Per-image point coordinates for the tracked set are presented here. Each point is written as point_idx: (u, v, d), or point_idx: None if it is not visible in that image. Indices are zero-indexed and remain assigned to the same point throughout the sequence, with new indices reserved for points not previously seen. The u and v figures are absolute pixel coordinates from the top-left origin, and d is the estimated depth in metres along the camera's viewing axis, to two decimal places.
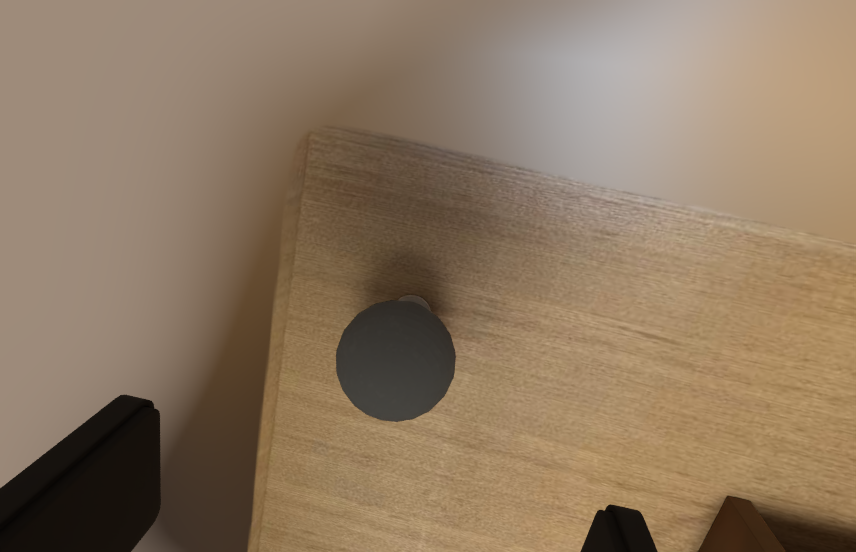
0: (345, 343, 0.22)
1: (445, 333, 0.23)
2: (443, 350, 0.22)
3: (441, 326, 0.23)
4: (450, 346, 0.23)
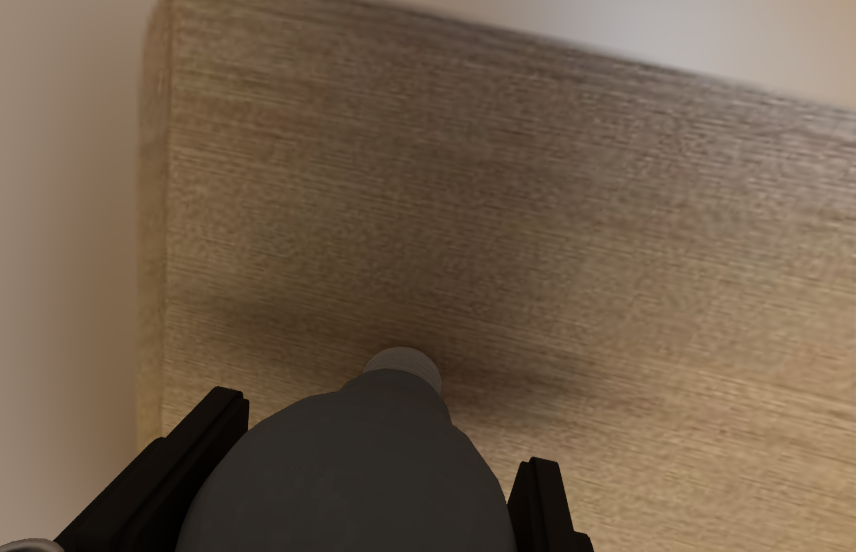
0: (181, 551, 0.07)
1: (493, 503, 0.08)
2: None
3: (481, 481, 0.08)
4: (509, 544, 0.08)
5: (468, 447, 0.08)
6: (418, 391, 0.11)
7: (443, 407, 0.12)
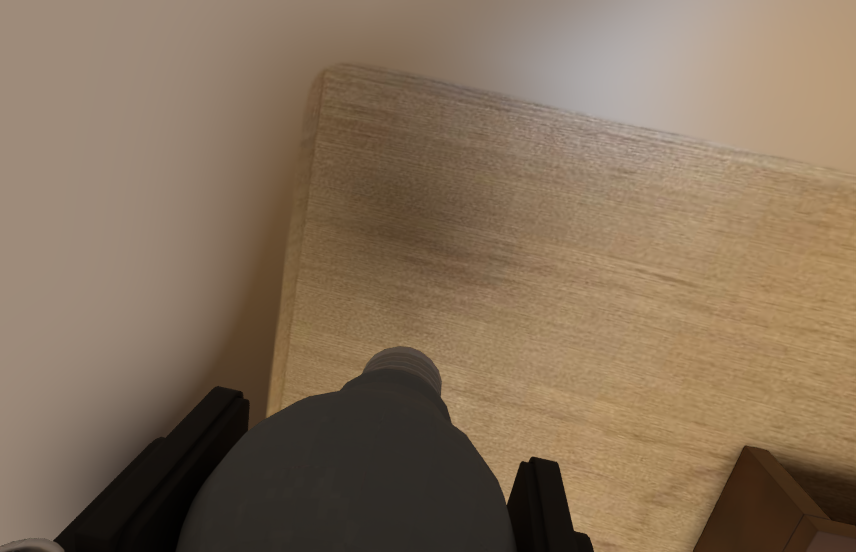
0: (182, 550, 0.07)
1: (492, 502, 0.08)
2: None
3: (481, 481, 0.08)
4: (508, 543, 0.08)
5: (468, 447, 0.08)
6: (418, 391, 0.11)
7: (443, 407, 0.12)
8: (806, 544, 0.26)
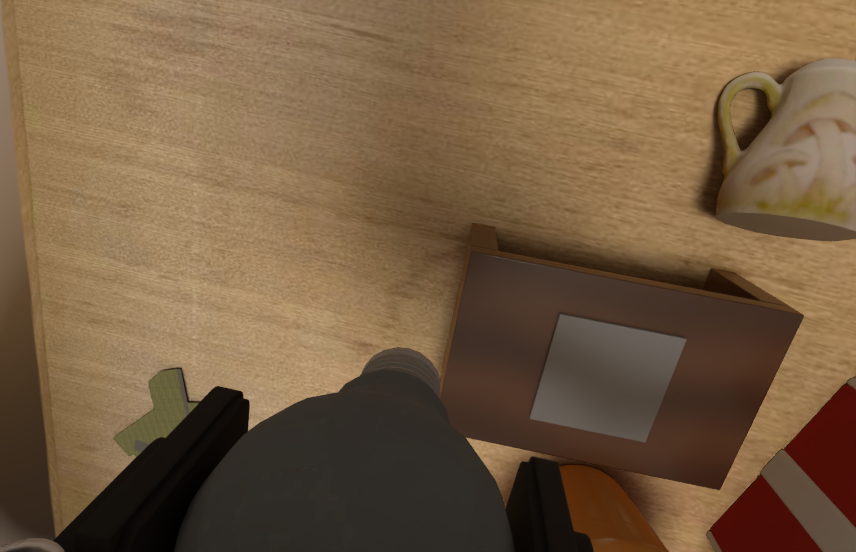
0: None
1: (491, 504, 0.08)
2: None
3: (479, 483, 0.08)
4: (506, 546, 0.08)
5: (466, 449, 0.08)
6: (417, 392, 0.11)
7: (442, 409, 0.12)
8: (466, 270, 0.26)
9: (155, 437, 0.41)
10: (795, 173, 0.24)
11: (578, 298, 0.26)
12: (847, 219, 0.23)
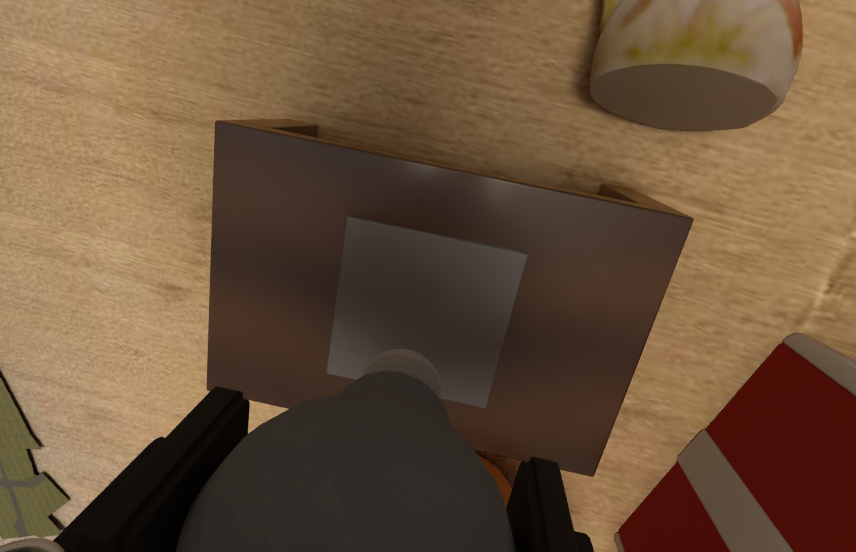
0: None
1: (492, 506, 0.08)
2: None
3: (480, 485, 0.08)
4: (508, 548, 0.08)
5: (467, 451, 0.08)
6: (417, 394, 0.11)
7: (442, 410, 0.12)
8: None
9: None
10: None
11: (373, 193, 0.18)
12: (750, 63, 0.15)
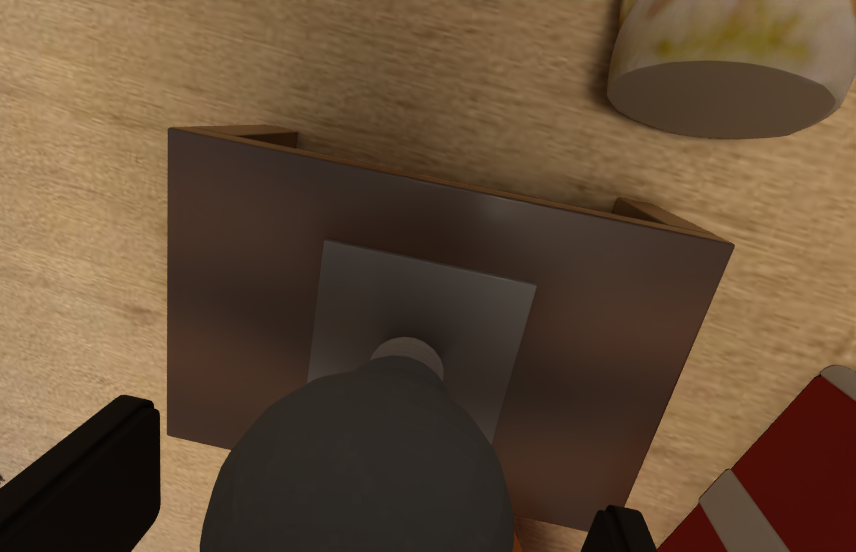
0: (215, 505, 0.08)
1: (490, 467, 0.09)
2: (490, 528, 0.08)
3: (480, 448, 0.09)
4: (504, 503, 0.09)
5: (468, 419, 0.09)
6: (422, 375, 0.12)
7: (445, 391, 0.13)
8: None
9: None
10: None
11: (354, 213, 0.15)
12: (808, 60, 0.13)
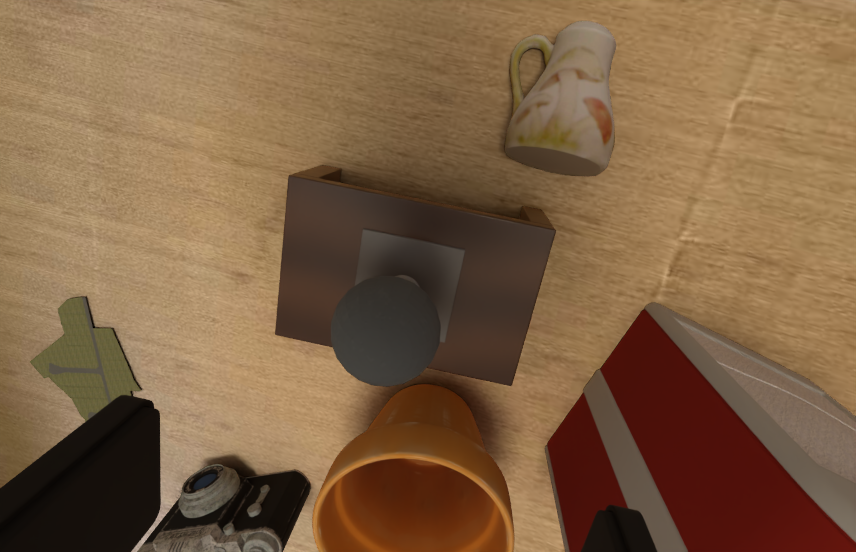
0: (339, 313, 0.24)
1: (431, 305, 0.25)
2: (428, 319, 0.24)
3: (427, 298, 0.25)
4: (435, 317, 0.25)
5: (424, 292, 0.26)
6: None
7: None
8: None
9: (66, 360, 0.46)
10: (540, 112, 0.29)
11: (377, 216, 0.31)
12: (577, 148, 0.29)
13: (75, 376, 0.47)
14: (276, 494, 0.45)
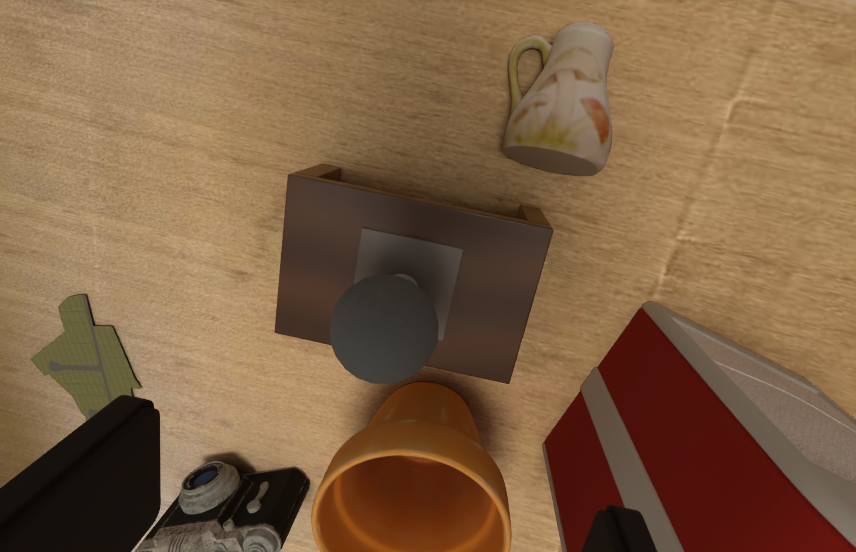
0: (337, 311, 0.24)
1: (429, 303, 0.25)
2: (426, 318, 0.24)
3: (425, 297, 0.25)
4: (433, 315, 0.25)
5: (422, 290, 0.26)
6: None
7: None
8: (287, 191, 0.32)
9: (67, 358, 0.46)
10: (538, 112, 0.30)
11: (376, 215, 0.32)
12: (575, 148, 0.29)
13: (76, 373, 0.47)
14: (275, 491, 0.46)
